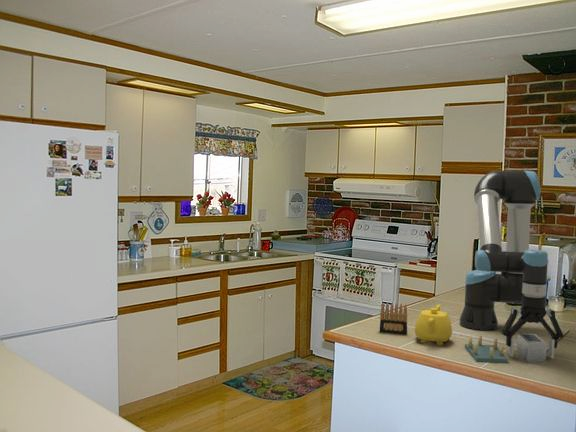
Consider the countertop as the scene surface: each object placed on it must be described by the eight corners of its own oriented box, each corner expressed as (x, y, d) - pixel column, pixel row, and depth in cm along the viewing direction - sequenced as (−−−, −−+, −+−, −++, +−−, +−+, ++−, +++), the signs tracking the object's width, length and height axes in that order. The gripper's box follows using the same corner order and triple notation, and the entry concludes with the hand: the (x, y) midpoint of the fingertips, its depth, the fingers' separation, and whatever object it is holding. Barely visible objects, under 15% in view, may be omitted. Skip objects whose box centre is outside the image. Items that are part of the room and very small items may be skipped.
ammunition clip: (407, 333, 212) (408, 303, 211) (406, 334, 210) (407, 304, 209) (379, 331, 215) (380, 301, 214) (379, 332, 213) (380, 302, 212)
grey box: (516, 352, 191) (517, 332, 191) (534, 353, 191) (535, 333, 190) (526, 362, 180) (527, 342, 180) (545, 363, 180) (546, 343, 179)
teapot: (454, 335, 210) (456, 304, 209) (448, 350, 192) (449, 316, 191) (420, 331, 215) (421, 300, 215) (410, 345, 197) (411, 311, 196)
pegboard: (464, 347, 195) (465, 334, 195) (494, 348, 195) (494, 335, 194) (476, 361, 181) (476, 347, 180) (507, 362, 180) (508, 348, 179)
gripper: (500, 296, 181) (497, 358, 183) (576, 299, 179) (573, 361, 181) (493, 291, 189) (490, 351, 190) (566, 294, 187) (563, 354, 188)
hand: (530, 356), depth 185 cm, fingers open, 13 cm apart
